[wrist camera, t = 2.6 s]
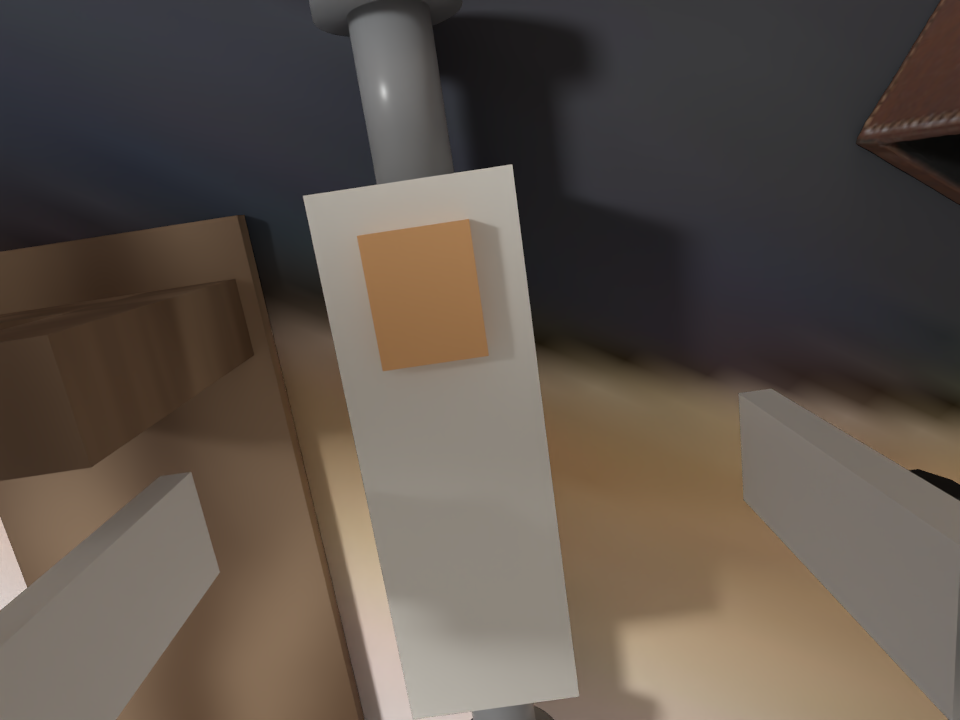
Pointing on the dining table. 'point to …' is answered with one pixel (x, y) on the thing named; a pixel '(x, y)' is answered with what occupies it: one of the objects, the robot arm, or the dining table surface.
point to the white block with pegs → (443, 387)
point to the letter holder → (924, 107)
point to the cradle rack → (172, 455)
